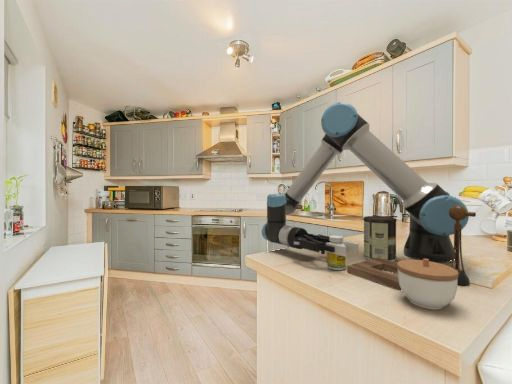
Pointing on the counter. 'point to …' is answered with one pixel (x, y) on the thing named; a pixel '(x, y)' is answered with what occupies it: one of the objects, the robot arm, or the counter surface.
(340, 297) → the counter surface
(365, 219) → the coffee can
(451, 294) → the lidded jar
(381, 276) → the walnut socket plate
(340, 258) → the supplement bottle
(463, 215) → the wooden tabletop sculpture
